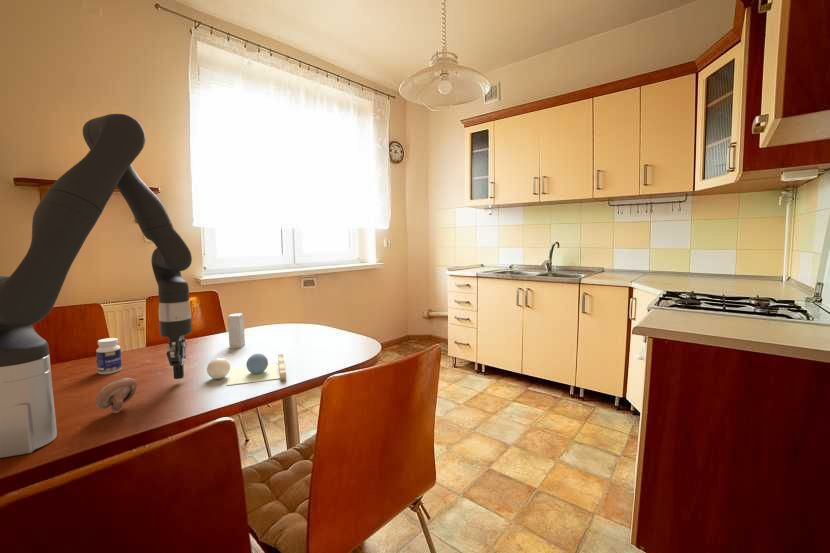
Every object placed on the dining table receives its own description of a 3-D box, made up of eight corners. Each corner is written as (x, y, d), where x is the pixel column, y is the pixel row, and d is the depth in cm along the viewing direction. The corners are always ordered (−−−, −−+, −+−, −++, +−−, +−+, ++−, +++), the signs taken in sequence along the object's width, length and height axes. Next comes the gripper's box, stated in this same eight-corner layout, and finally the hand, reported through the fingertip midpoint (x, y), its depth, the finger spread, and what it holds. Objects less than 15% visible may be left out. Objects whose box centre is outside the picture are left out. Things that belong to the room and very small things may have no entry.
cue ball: (210, 358, 103) (201, 378, 102) (232, 365, 105) (223, 384, 104) (214, 352, 108) (205, 371, 108) (234, 358, 110) (226, 377, 110)
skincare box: (241, 347, 137) (240, 316, 135) (228, 348, 136) (227, 316, 134) (245, 343, 143) (244, 312, 141) (232, 343, 142) (231, 313, 140)
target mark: (280, 378, 107) (280, 378, 107) (226, 385, 101) (226, 385, 101) (278, 363, 120) (278, 363, 120) (230, 369, 114) (230, 368, 114)
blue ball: (261, 353, 108) (241, 364, 106) (272, 369, 109) (253, 380, 108) (261, 347, 113) (242, 358, 112) (271, 363, 115) (253, 373, 113)
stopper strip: (285, 380, 105) (285, 372, 105) (280, 381, 105) (280, 372, 105) (283, 361, 122) (283, 353, 122) (278, 361, 121) (278, 354, 121)
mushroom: (96, 422, 81) (93, 387, 80) (97, 412, 86) (94, 379, 85) (139, 411, 86) (137, 378, 85) (137, 402, 90) (135, 371, 90)
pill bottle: (108, 375, 108) (105, 342, 107) (92, 374, 109) (89, 341, 108) (126, 368, 114) (124, 337, 113) (112, 367, 115) (109, 336, 114)
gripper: (186, 321, 97) (190, 384, 98) (195, 312, 109) (198, 368, 110) (152, 323, 94) (156, 388, 95) (165, 313, 106) (169, 371, 108)
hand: (179, 377), depth 103 cm, fingers closed
